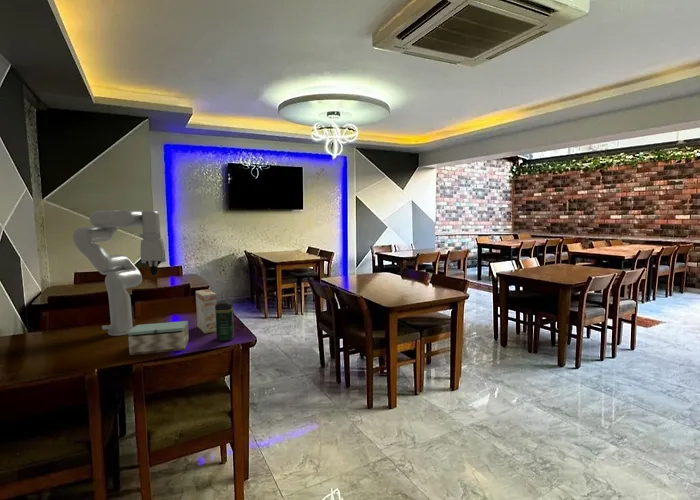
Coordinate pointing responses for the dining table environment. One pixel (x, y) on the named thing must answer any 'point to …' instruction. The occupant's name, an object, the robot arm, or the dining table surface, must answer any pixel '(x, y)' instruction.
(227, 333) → the coffee jar
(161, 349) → the chest
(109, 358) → the dining table surface
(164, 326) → the lid
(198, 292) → the coffeecake box
